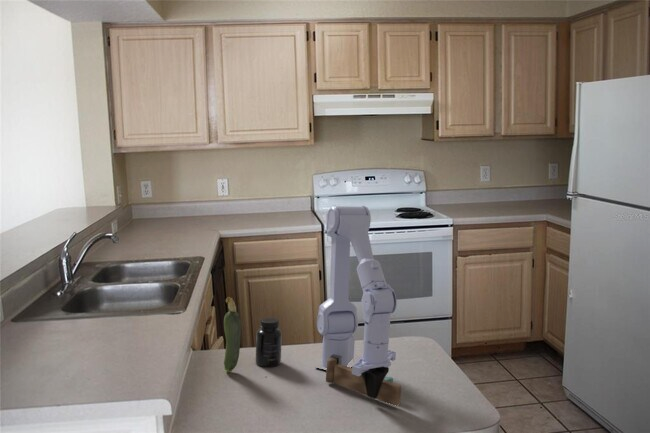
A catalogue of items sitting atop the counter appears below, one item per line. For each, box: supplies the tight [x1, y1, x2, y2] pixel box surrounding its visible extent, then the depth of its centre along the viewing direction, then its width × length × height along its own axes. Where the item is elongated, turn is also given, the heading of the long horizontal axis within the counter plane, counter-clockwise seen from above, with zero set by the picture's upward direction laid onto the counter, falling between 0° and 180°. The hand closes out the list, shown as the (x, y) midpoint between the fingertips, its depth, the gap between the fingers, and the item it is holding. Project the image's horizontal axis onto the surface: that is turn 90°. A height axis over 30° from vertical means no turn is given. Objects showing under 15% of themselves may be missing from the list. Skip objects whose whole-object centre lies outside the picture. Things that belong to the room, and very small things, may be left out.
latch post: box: [384, 376, 394, 383], centre depth 139 cm, size 2×2×5 cm
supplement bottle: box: [254, 317, 283, 369], centre depth 156 cm, size 7×7×12 cm
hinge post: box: [330, 354, 342, 365], centre depth 147 cm, size 2×2×6 cm
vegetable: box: [223, 296, 242, 373], centre depth 147 cm, size 4×4×20 cm
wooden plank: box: [325, 358, 402, 407], centre depth 140 cm, size 21×2×6 cm, turn 52°
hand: (372, 396), depth 135 cm, fingers closed
